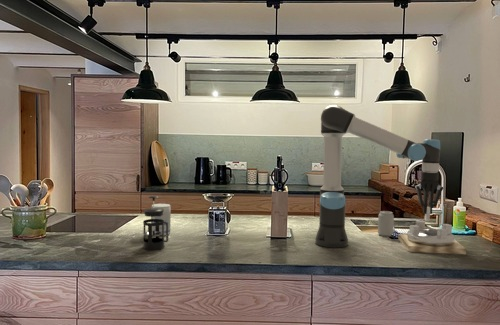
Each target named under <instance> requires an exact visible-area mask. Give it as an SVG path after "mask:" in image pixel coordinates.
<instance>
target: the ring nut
mask: <svg viewBox="0 0 500 325" xmlns="http://www.w3.org/2000/svg"><path fill="white" fill-rule="evenodd" d="M452 227H453V226H452V224H449V223H442V224H441V228H433V227H432V228H430V227H426V222H425V221H424V220H415V224H411V225H409V229H408V230H407V231H406V232H407V233H406V234H407V239H408V240H410V241H412V242H415V243H418V244H423V245H430V246H449V245H453V244H454V240H455V235H454V234H453V233H452V230H453V228H452Z"/></svg>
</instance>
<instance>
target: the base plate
mask: <svg viewBox="0 0 500 325" xmlns="http://www.w3.org/2000/svg"><path fill="white" fill-rule="evenodd" d="M397 238H398V240H399V241H400V243H401V244H402V246H403V247H404V248H405V249H406V251H408V252H410V253H411V252H413V253H414V252H415V253H430V254H431V253H432V254H436V253H437V254H450V255H452V254H453V255H467V248H466V247H465V246H463V245H462V244H461V243H459V242H458V241H457V240H456V239H454V244H453V245H449V246H430V245H423V244H418V243H415V242H412V241H410V240H408V239H407V233H398V236H397Z"/></svg>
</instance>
